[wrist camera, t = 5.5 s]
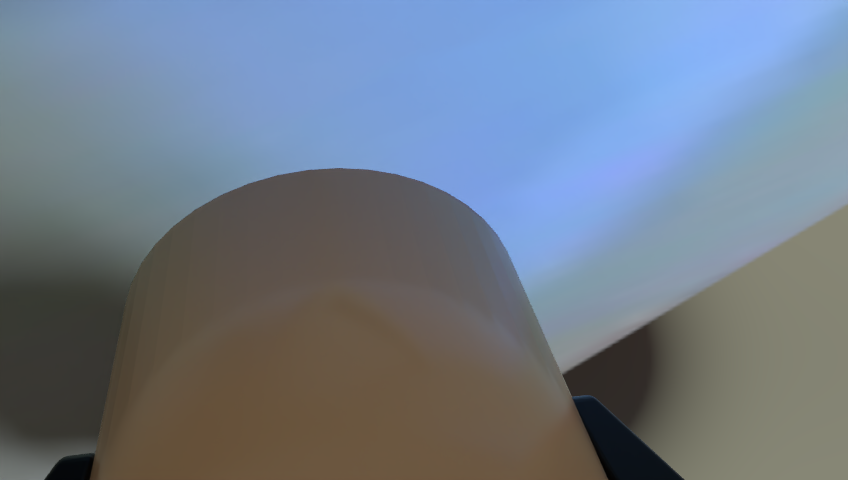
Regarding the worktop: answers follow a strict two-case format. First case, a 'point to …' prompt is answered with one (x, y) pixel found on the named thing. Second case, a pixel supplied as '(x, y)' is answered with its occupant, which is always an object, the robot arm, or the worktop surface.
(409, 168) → the worktop surface
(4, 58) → the worktop surface
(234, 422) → the terracotta cup
